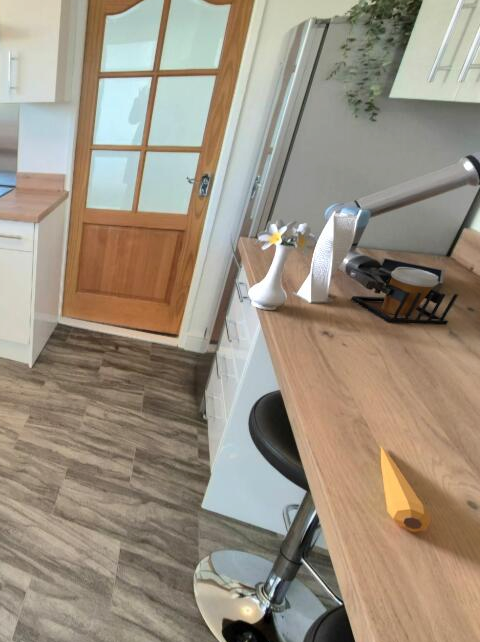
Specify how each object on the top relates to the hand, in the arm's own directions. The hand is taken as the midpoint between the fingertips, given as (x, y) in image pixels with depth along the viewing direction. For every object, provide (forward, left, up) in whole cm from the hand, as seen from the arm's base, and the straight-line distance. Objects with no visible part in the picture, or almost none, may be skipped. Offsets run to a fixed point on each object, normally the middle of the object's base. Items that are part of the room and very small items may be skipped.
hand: (421, 298), depth 115 cm
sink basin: (-15, -31, -7) cm, 35 cm away
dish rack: (+1, -5, -7) cm, 8 cm away
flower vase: (+37, 0, -7) cm, 37 cm away
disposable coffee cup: (+1, -5, -7) cm, 8 cm away
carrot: (+39, +66, -7) cm, 77 cm away
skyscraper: (+21, -8, -7) cm, 23 cm away
